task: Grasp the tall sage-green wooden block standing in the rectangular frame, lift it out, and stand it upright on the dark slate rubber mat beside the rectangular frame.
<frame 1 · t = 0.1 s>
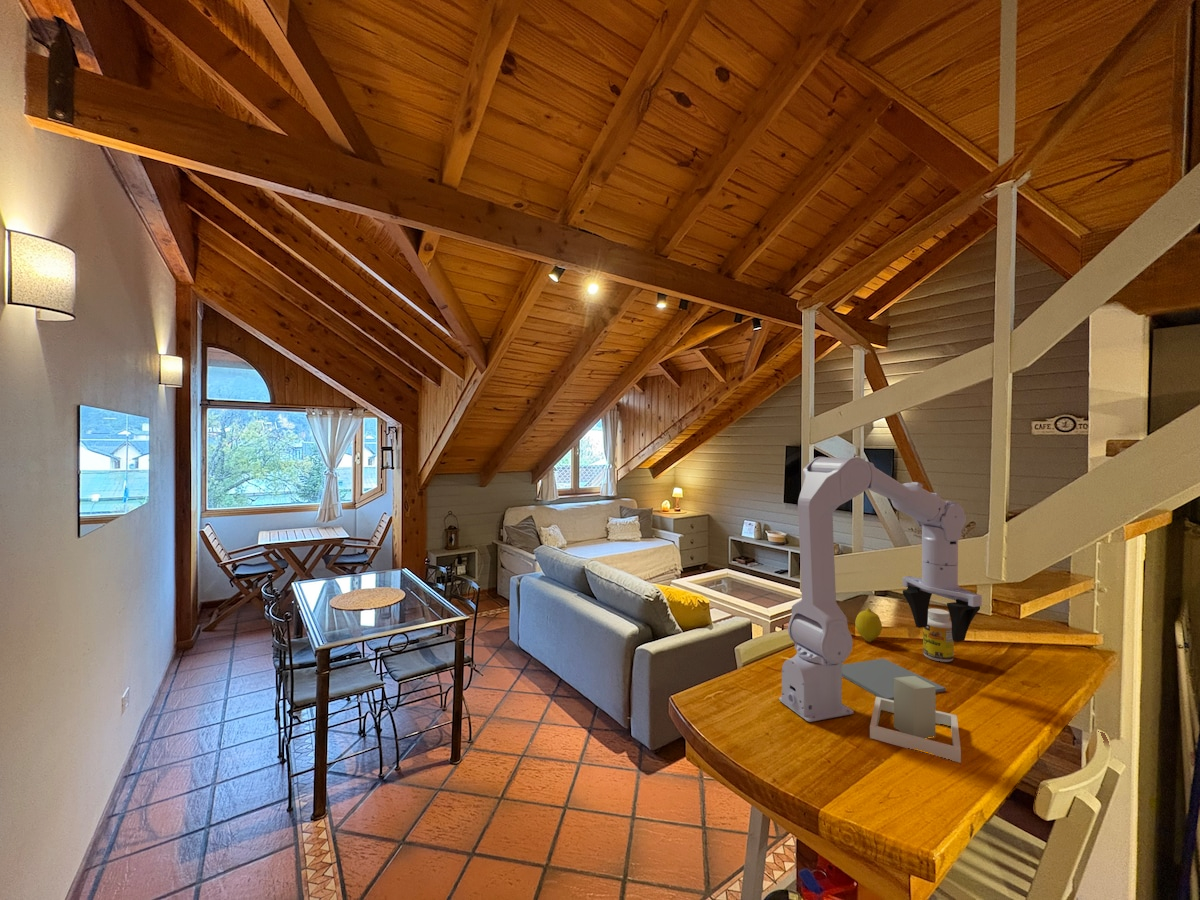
hand: (939, 633, 97), 10 cm above the table, tool pointing down, fingers open, 7 cm apart
block: (914, 707, 81), in the rectangular frame
supplement bottle: (938, 658, 110), on the table
mat: (884, 679, 99), on the table
rectangular frame: (914, 732, 81), on the table
fruit: (868, 642, 119), on the table
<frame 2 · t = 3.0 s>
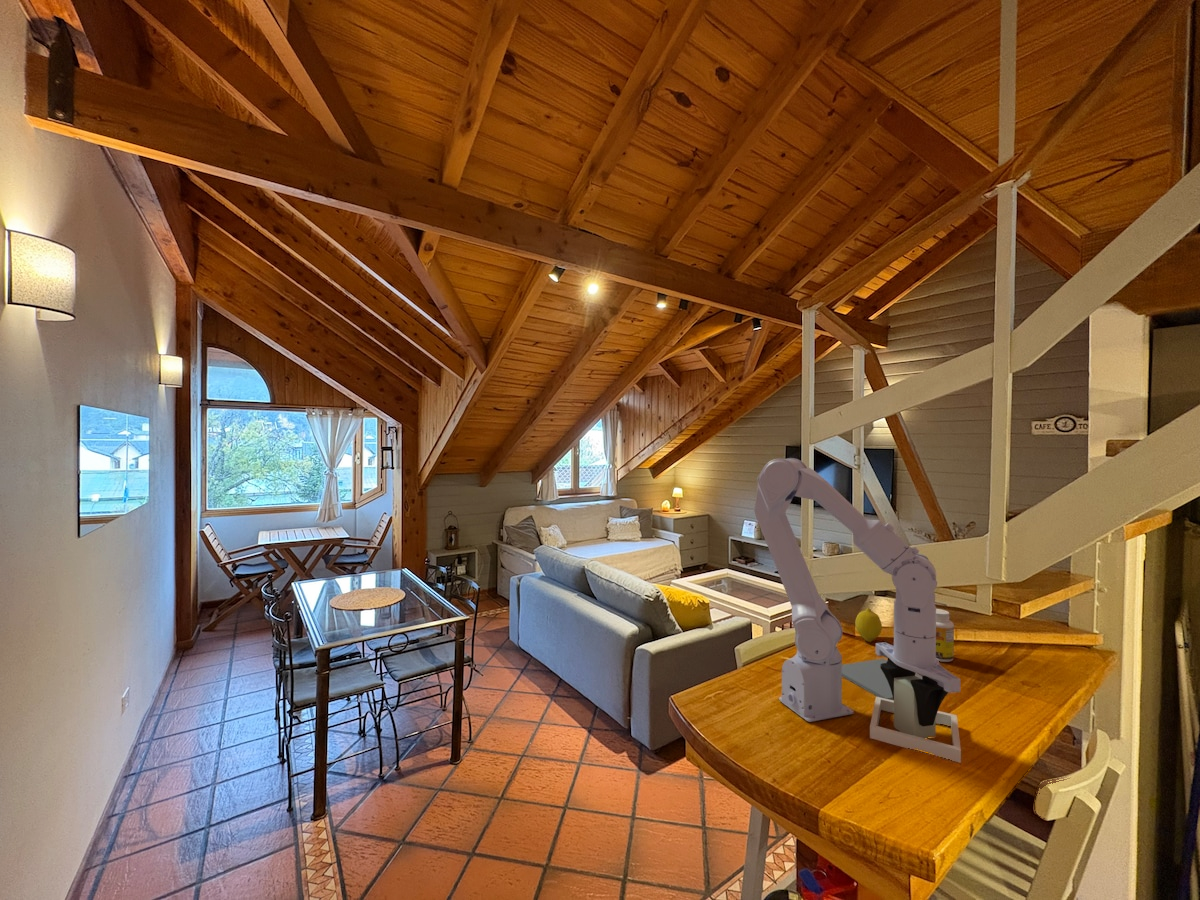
hand: (914, 717, 81), 2 cm above the table, tool pointing down, fingers closed on block, 4 cm apart
block: (914, 707, 81), in the rectangular frame, touching gripper
everything else where it was.
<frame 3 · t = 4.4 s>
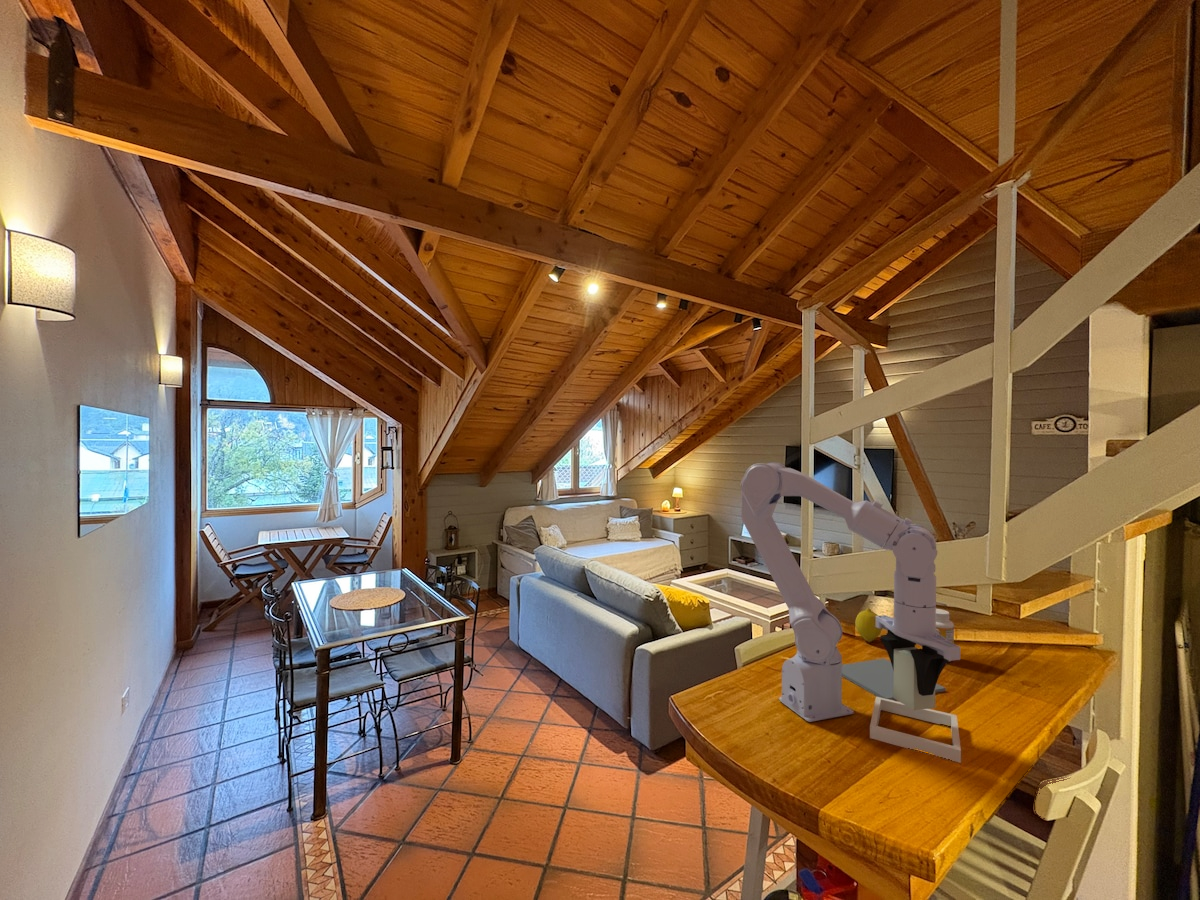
hand: (914, 687, 81), 7 cm above the table, tool pointing down, fingers closed on block, 4 cm apart
block: (914, 677, 81), point 9 cm above the table, touching gripper
everything else where it was.
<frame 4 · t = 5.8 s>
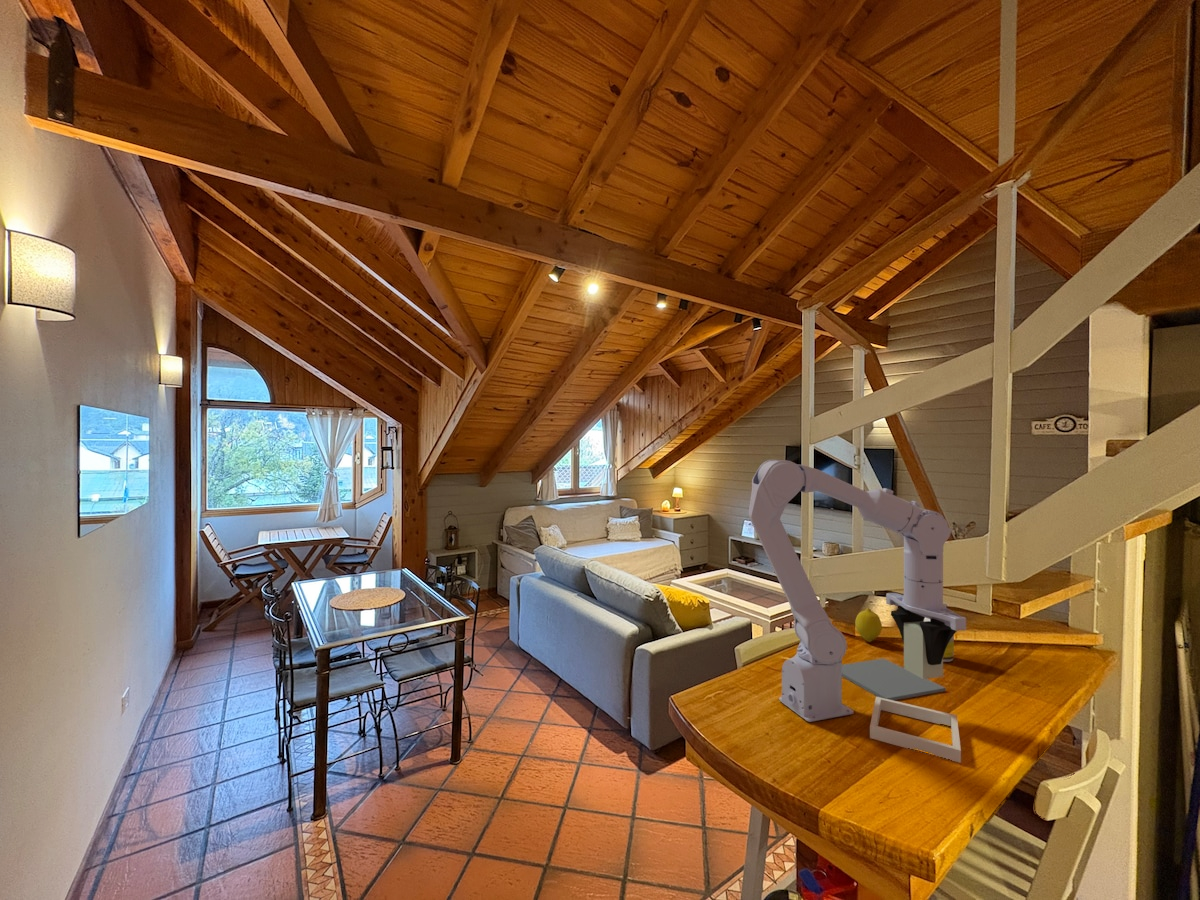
hand: (923, 658, 87), 9 cm above the table, tool pointing down, fingers closed on block, 4 cm apart
block: (923, 649, 87), point 11 cm above the table, touching gripper
everything else where it was.
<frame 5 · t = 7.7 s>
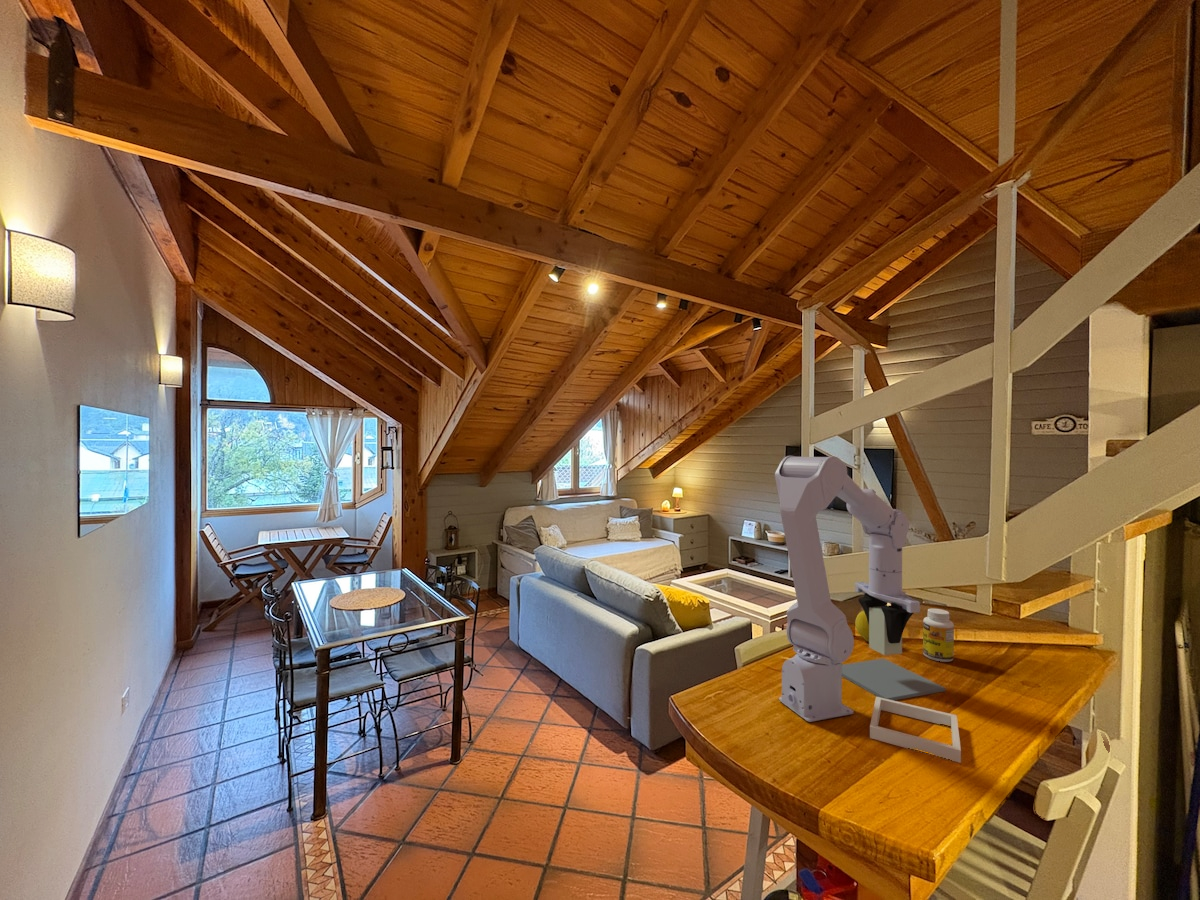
hand: (885, 638, 99), 8 cm above the table, tool pointing down, fingers closed on block, 4 cm apart
block: (885, 630, 99), point 10 cm above the table, touching gripper
everything else where it was.
when the fingers open (4 cm above the table, at t = 9.0 s): block stays where it is, resting on mat.
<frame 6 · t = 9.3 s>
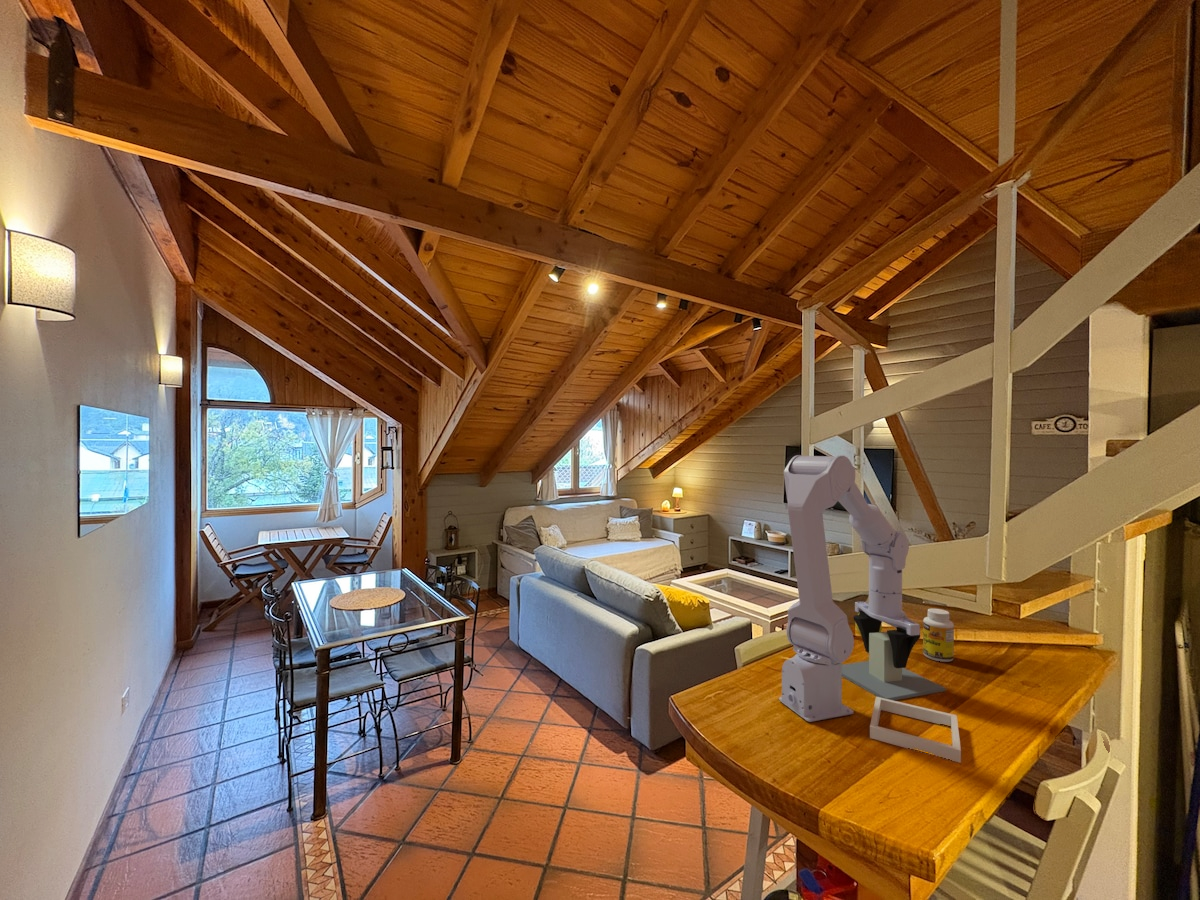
hand: (885, 659, 99), 4 cm above the table, tool pointing down, fingers open, 7 cm apart
block: (885, 656, 99), on the mat, point 5 cm above the table
everything else where it was.
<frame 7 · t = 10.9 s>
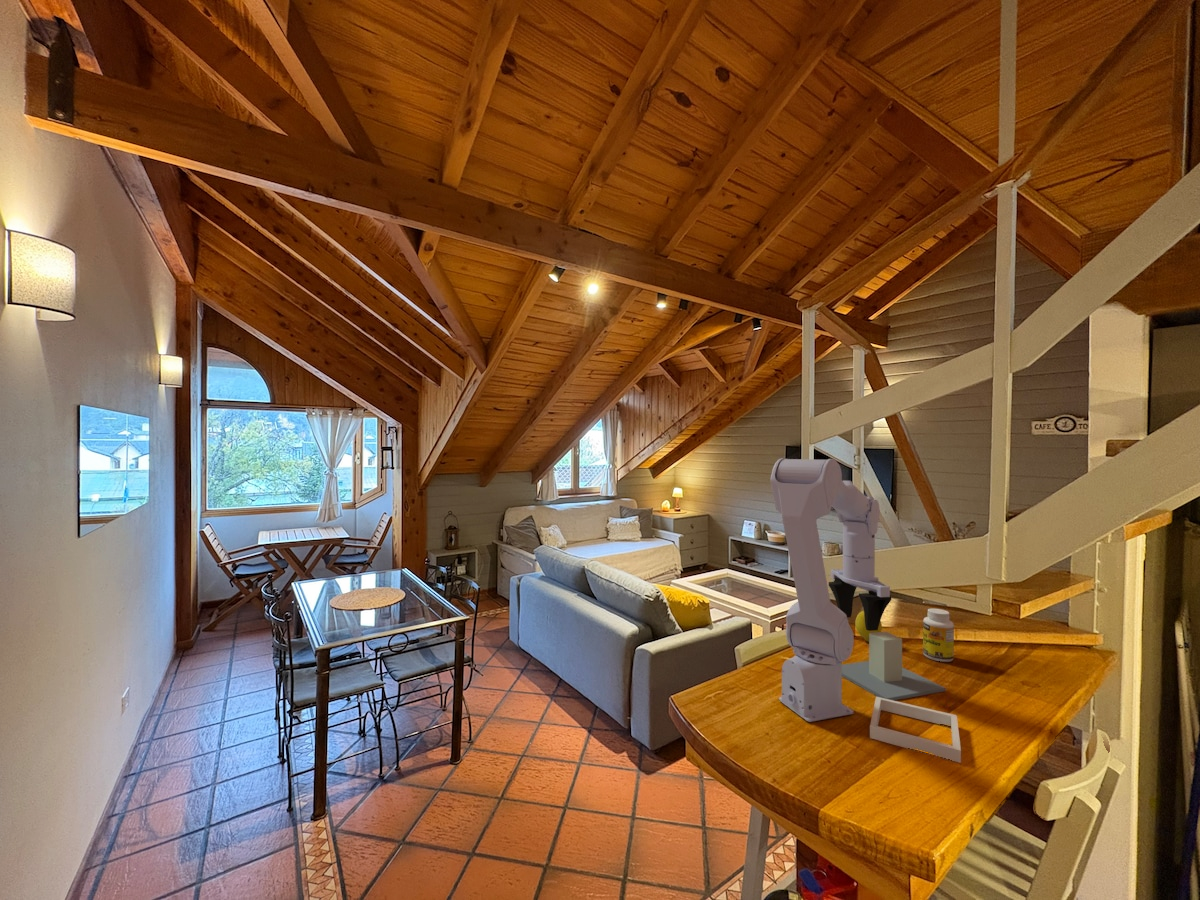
hand: (858, 623, 102), 10 cm above the table, tool pointing down, fingers open, 7 cm apart
nothing on the table moved.
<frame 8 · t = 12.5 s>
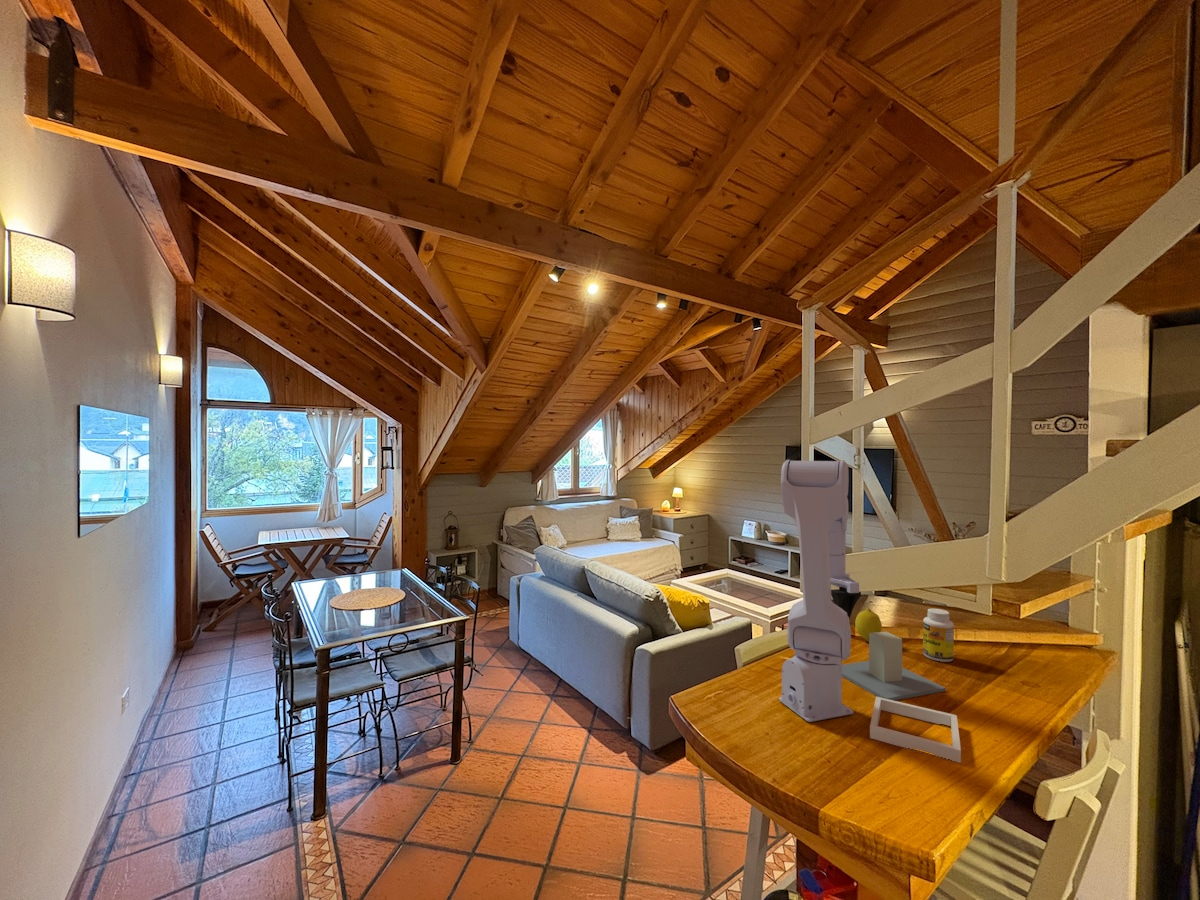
hand: (829, 618, 104), 10 cm above the table, tool pointing down, fingers open, 7 cm apart
nothing on the table moved.
at the end: block inside the target area on the mat (0.1 cm from its centre), point 4.6 cm above the mat's base; block tilted 0°; the gripper is holding nothing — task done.
